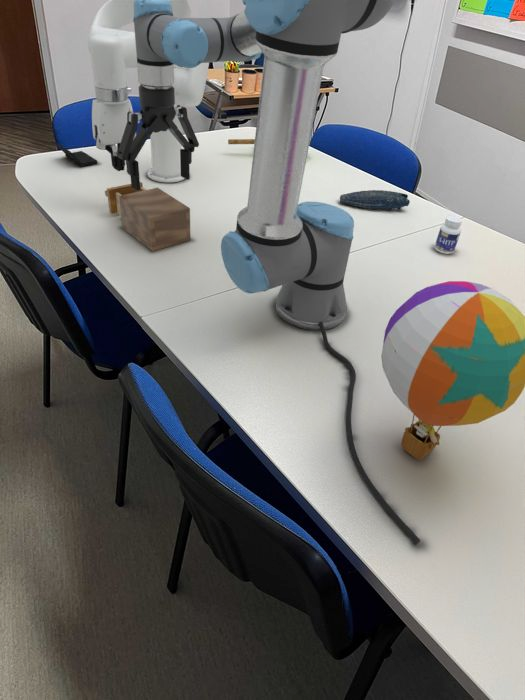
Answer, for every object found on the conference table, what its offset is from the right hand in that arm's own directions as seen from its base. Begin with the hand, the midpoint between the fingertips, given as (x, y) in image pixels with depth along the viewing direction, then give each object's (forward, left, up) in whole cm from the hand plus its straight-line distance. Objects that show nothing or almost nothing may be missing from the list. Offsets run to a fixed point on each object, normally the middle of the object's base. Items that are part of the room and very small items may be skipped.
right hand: (161, 183), depth 124 cm
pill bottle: (+16, -73, -15) cm, 76 cm away
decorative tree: (+74, -17, -15) cm, 77 cm away
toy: (-58, -60, -15) cm, 85 cm away
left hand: (+14, +16, -3) cm, 21 cm away
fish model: (+40, -54, -15) cm, 69 cm away
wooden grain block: (+3, +3, -15) cm, 16 cm away
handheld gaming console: (+45, +43, -15) cm, 64 cm away
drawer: (+10, +12, -14) cm, 21 cm away
